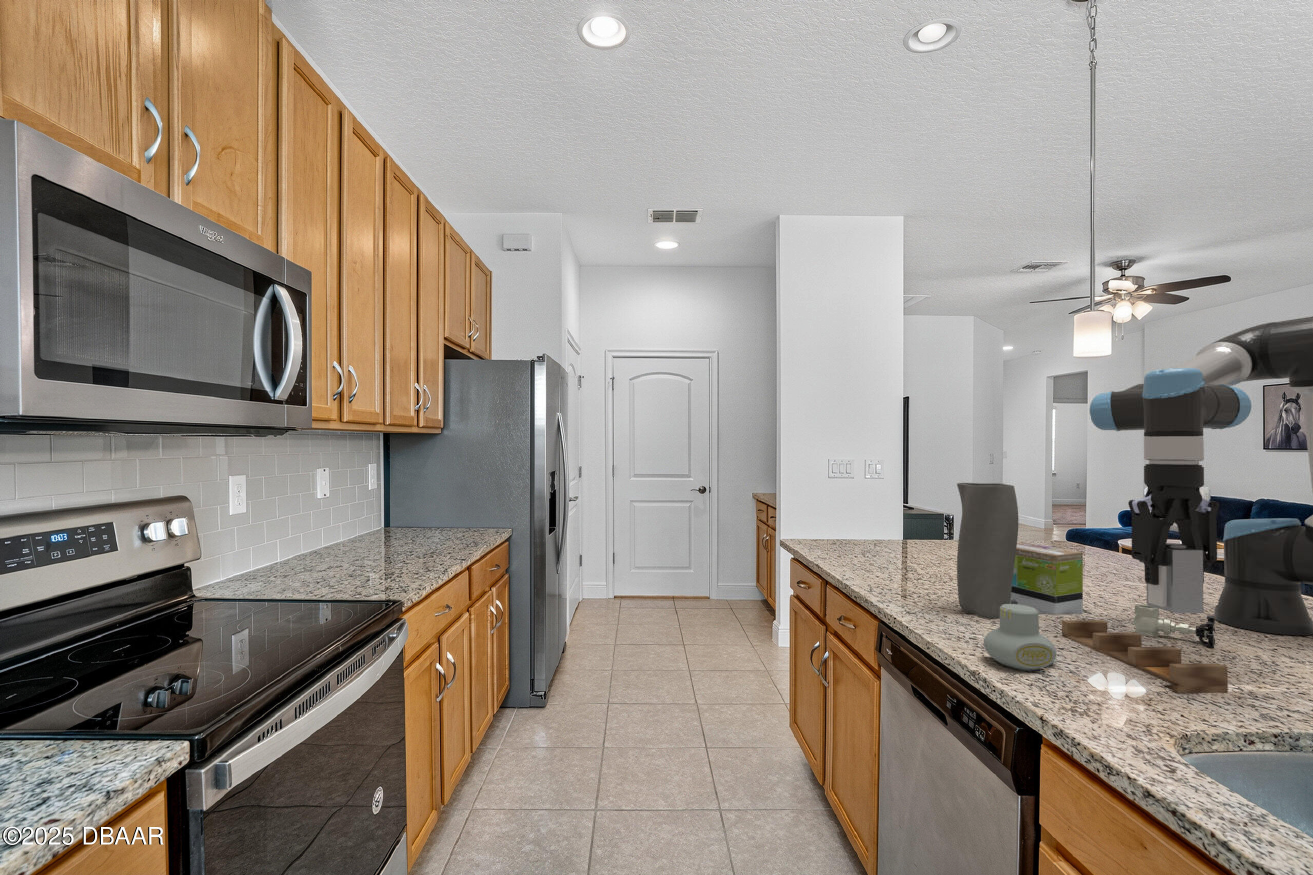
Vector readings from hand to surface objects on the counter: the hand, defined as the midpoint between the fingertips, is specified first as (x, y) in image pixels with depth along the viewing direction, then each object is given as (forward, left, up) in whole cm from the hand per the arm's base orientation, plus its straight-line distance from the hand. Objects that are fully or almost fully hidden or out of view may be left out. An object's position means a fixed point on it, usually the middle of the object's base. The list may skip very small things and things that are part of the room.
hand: (1174, 604), depth 99 cm
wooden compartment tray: (0, -8, -13) cm, 15 cm away
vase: (+9, -38, -13) cm, 41 cm away
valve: (-17, -19, -13) cm, 28 cm away
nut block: (0, 0, -1) cm, 1 cm away
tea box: (-7, -44, -13) cm, 46 cm away
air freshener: (+21, -8, -13) cm, 26 cm away
